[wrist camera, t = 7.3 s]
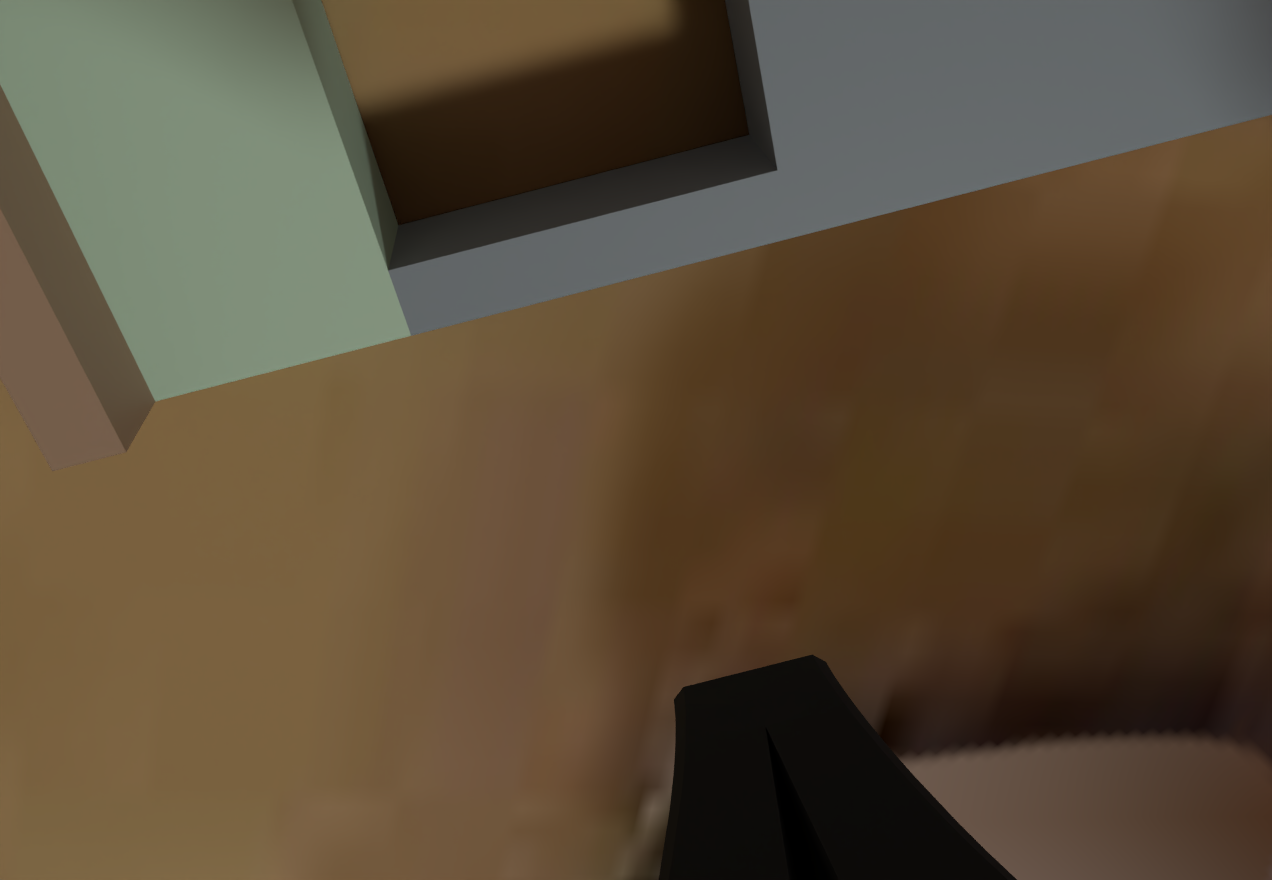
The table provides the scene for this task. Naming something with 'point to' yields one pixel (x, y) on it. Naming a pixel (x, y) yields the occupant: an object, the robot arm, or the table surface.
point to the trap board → (517, 225)
